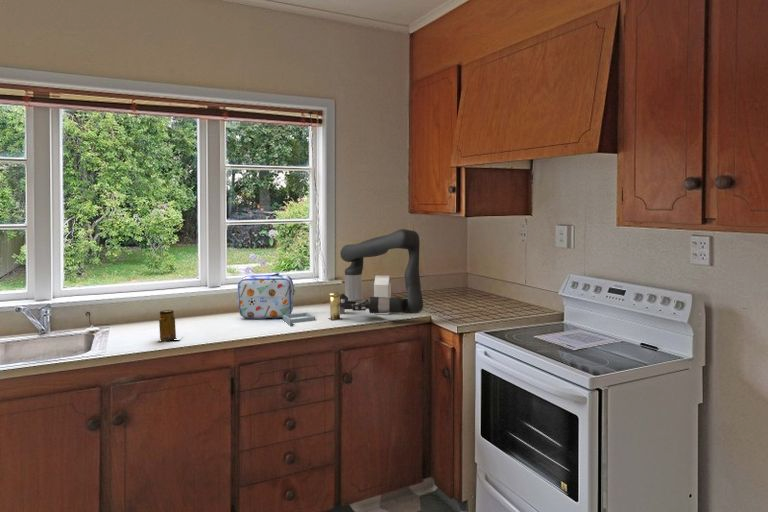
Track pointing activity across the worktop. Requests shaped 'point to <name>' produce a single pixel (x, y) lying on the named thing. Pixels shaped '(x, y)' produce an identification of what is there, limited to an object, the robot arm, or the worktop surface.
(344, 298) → the tensioner bracket
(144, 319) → the worktop surface
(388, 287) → the milk carton
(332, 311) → the pin
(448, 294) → the worktop surface
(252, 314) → the lunch box
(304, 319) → the grey open frame
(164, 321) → the condiment
